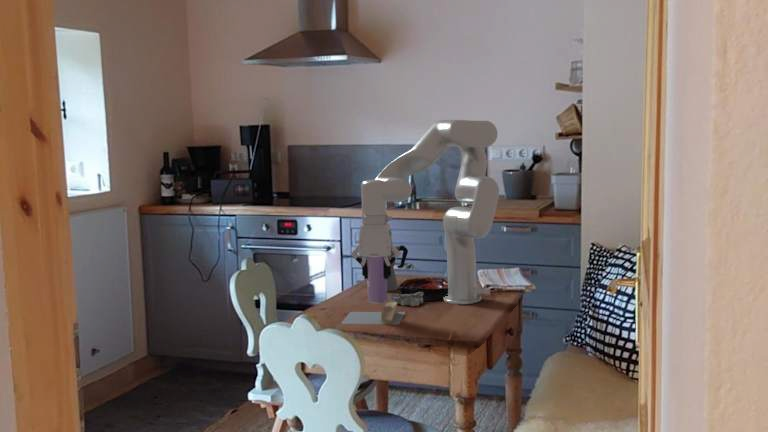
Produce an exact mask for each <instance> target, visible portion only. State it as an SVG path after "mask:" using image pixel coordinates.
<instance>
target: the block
mask: <svg viewBox="0 0 768 432" xmlns="http://www.w3.org/2000/svg"><path fill="white" fill-rule="evenodd" d="M380 312H381V319H382V323H392V322H393V320H394V318H395V316H396V314H397V312H398V304H397V302H390V301H386V303H385V305H384V307H383V308H382V310H381V311H380Z"/></svg>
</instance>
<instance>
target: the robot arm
mask: <svg viewBox="0 0 768 432" xmlns="http://www.w3.org/2000/svg"><path fill="white" fill-rule="evenodd" d="M497 139H498V129H497V127H496V125H495V124H494V123H493V122H491V121H489V120H468V119H466V120H464V119H441V120H437V121H435V122H434V123H433V124H432V125H430V127H429V128H428V129H427V131H426V132H425V133H424V134H423V135H422V137H420V139H418V141H417V142H416V143H415V144H414V145H413V147H412V148H410V149H409V150H408V151H406V152H404V153H403V154H402V155H400V156H398V157H396V158H395V159H394V160H392V161H391V162H390V163H388V164H387V165H386V166H385V167H384V168H383V169H382V170H381V172H380V173H378V175H377V176H376V178H375V179H366V180H363V181H362V182H361V184H360V192H361V193H360V195H361V215H362V216H361V217H362V218H361V219H362V222H361V223H362V224H360V226H359V227H360V228H359V233H358V235H359V236H358V245H357V247H356V248H355V249H354V250H353V251H352V252H351V254H350V256H351V257H352V258H353V259H354V260H356V262H357V263H359V264H360V266H361V271H362V273H361V274H362V277H364V280H366V279H367V263H366V260H367V257H369V256H368V255H371V256H378V255H381V257H384V260H385V262H386V266H385V279H388V278H389V276H391V264H392V263H393V262H394V261H395V262H396V260H397V259H398V258H399V257H400V256H402V253H401V251H398V250H397V249H396V248H395V247H394V246H395V245H393V235H392V229H391V224H390V223H388V222H391V221H393V219H392V216H390V215H388V212H387V203H403V202H405V201H408V199H409V198H410V197H411V195H412V193H413V192H412V191H413V188H412V184H411V183H410V182H409V181H408V180H407V178H408V177H410V176H412V175H415V174H418V173H422V172H424V171H427V170H428V169H430V168H432V167H433V165H434V164H435V163H436V162H437V161H438V160H439V158H441V156H443V154H444V153H445V151H447V149H448V148H449V147H454V148H455V147H458V150H459V151H460V154H461V164H460V168H459V173H458V177H457V181H456V185H455V188H454V197H455V198H456V200H457V201H458V202H460V203H462V204H468V205H471V207H468V206H467V207H465V206H453V207H451V208H448V209H447V210H446V211H445V212H444V215H443V219H442V224H443V225H442V226H443V230H444V234H445V240H446V259H447V261H446V262H447V263H446V265H447V266H446V267H447V295H448V296H445V295H444V296H445V297H444V296H443V301H444V302H445V303H449V304H453V305H471V304H476V303H479V302H481V301H482V296H485V297H487V296H491V289H487V288H483V289H482V288H481V289H480V287H479V286H478V285H477V256H476V254H477V253H476V251H477V249H476V244H475V241H474V239H482V238H483V239H484V238H485V237H486V236H487V235H488V234H489V233H490V231H491V229H492V226H493V223H494V218H495V215H496V210H497V207H498V202H499V197H500V188H499V185H498V183H497V181H496V180H495V178H492V177H490V176H486V172H487V167H488V157H487V155H486V152H485V149H484V148H489V147H491V146H493V145H494V144H495V142H496V140H497ZM393 252H394V253H395V255H394V256H393V257H392V258H391V259H390V257H389V256H390V255H391V254H392V253H393Z"/></svg>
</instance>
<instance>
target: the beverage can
mask: <svg viewBox="0 0 768 432" xmlns="http://www.w3.org/2000/svg"><path fill="white" fill-rule="evenodd" d="M368 256H369V257H367V260H366V263H367V280H366V283H367V301H368V302H369V303H370V304H375V305H376V304H386V303H387V302H388V292H387V279H385V266H386V262H385V260H384V257H381V255H378V256H371V255H368Z"/></svg>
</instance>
